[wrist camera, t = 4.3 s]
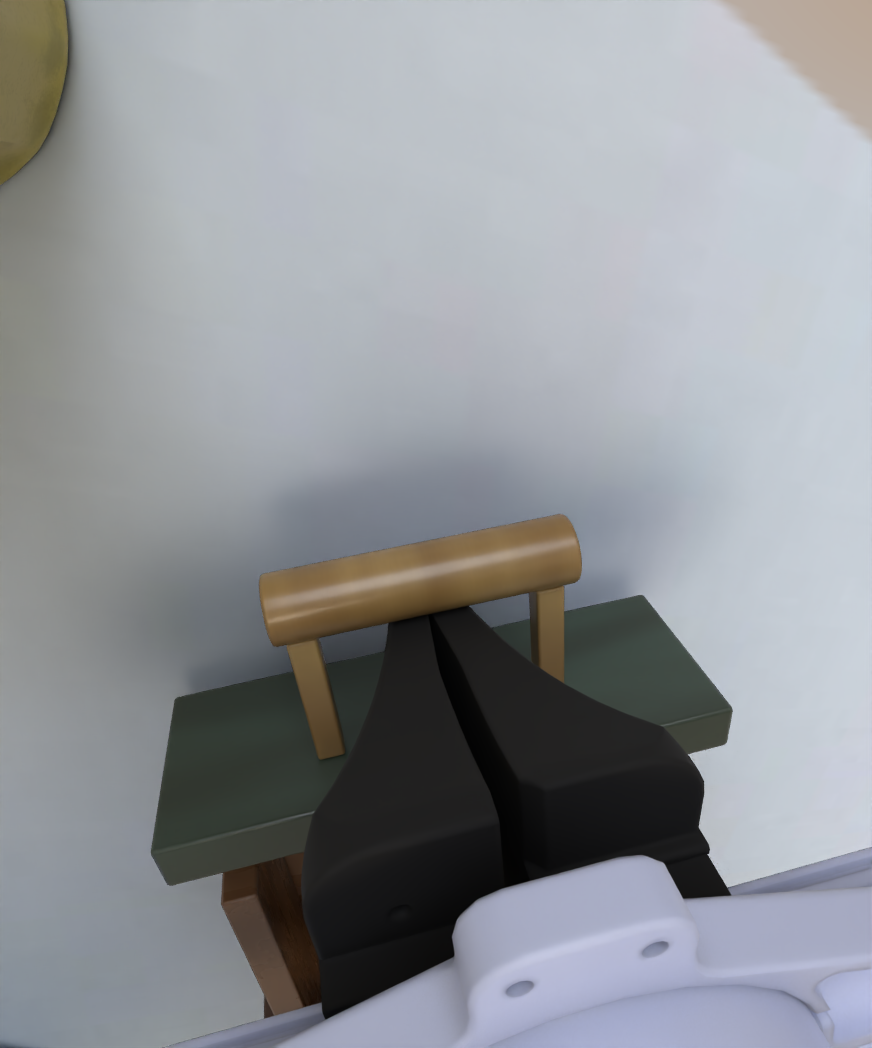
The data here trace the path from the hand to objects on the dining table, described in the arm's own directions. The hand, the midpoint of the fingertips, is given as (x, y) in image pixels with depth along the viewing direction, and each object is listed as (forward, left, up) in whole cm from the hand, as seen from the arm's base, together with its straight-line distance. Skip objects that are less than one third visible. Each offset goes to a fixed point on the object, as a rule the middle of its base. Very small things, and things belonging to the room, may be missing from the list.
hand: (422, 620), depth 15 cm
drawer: (-5, -6, -2) cm, 7 cm away
